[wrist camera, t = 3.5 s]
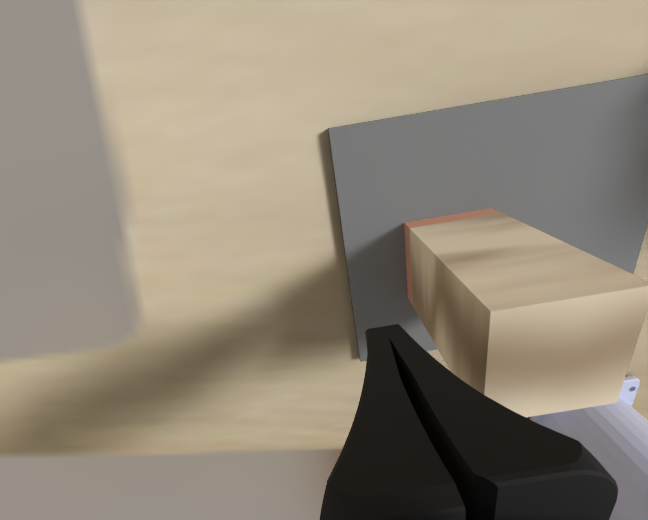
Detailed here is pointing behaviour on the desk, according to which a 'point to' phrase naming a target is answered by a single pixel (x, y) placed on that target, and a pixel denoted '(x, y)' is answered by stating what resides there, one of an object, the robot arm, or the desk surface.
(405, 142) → the mat
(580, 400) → the block
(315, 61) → the desk surface
